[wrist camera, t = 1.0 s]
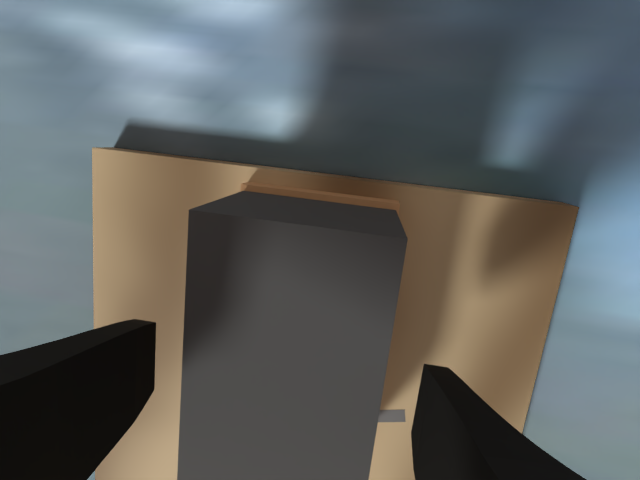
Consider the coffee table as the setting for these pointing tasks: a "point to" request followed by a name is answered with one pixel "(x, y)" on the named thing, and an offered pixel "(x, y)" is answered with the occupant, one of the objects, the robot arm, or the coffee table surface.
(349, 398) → the block
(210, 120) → the coffee table surface
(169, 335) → the oak board
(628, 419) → the coffee table surface
